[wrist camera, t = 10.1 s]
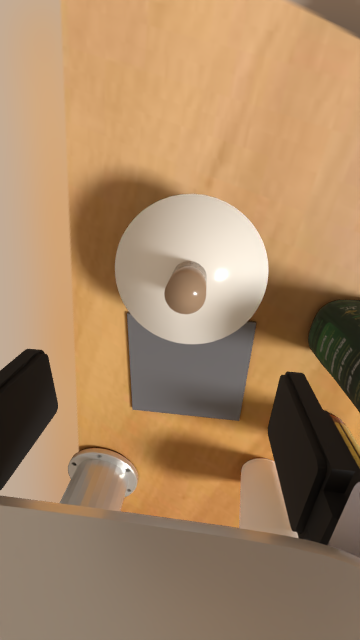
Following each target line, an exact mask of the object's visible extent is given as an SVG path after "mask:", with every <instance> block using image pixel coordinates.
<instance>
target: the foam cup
mask: <svg viewBox="0 0 360 640" xmlns="http://www.w3.org/2000/svg"><path fill="white" fill-rule="evenodd" d="M239 528H241V529H248V530H254V531H260V532H267V533H273V534H279V535H285V536H290V537H295V538H298V534H297V532H293V531H292V529H291V527H290V523H289V519H288V515H287V510H286V506H285V502H284V498H283V494H282V490H281V486H280V482H279V478H278V473H277V469H276V465H275V462H274V461H272V460H269V459H265V458H256V459H253V460H249V461H247V462H246V463H245V464H244V465H243V466H242V470H241V489H240V521H239Z"/></svg>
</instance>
